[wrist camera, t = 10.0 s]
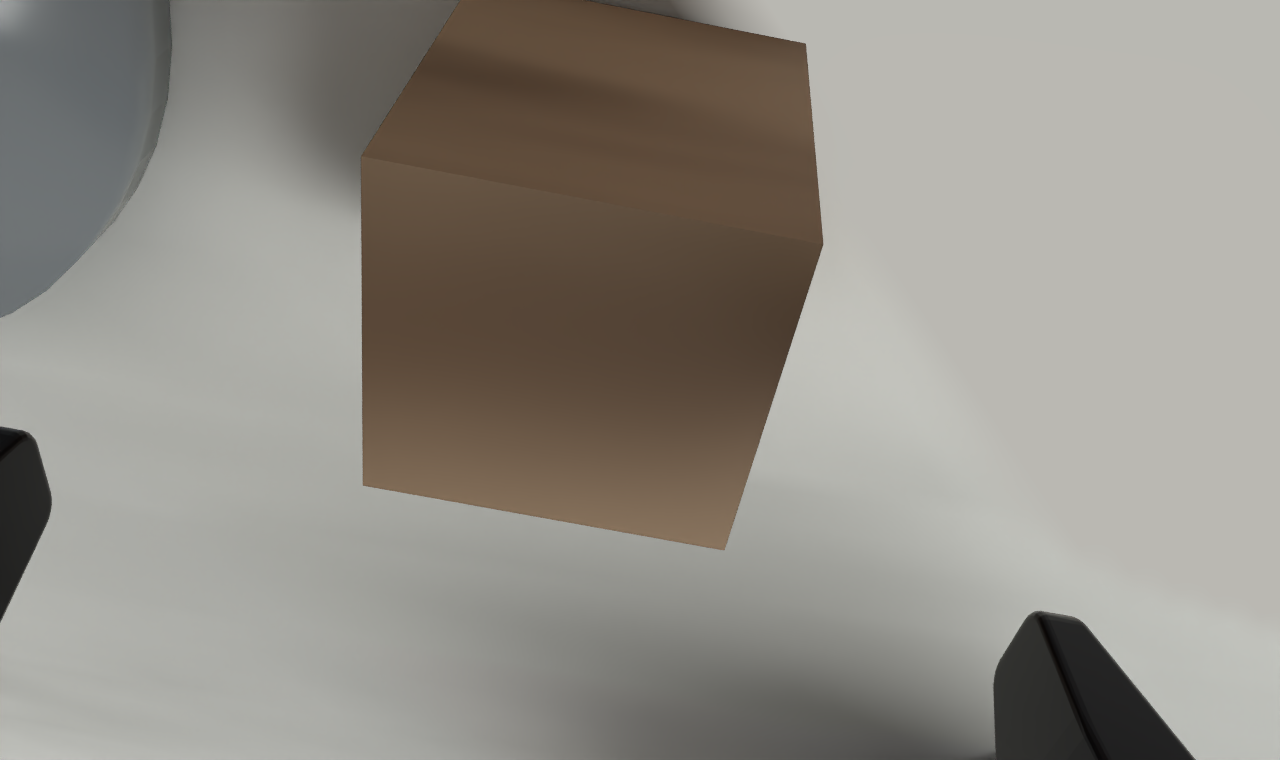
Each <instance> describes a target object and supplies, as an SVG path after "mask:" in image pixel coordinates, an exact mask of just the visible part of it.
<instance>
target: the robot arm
mask: <svg viewBox="0 0 1280 760" xmlns="http://www.w3.org/2000/svg"><path fill="white" fill-rule="evenodd" d="M51 506H52V497H51V491H50V488H49V484H48V481H47V477H46V474H45V470H44V467H43V463H42V459H41V456H40V452H39V449H38V445H37V443H36V440H35V439H34V438H33V437H32V435H31V434H30V433H28V432H26V431H23V430H17V429H12V428H6V427H0V622H1V620H2V618H3V616H4V614H5V612H6V609H7V607H8V605H9V603H10V601H11V599H12V597H13V595H14V592H15V590H16V588H17V586H18V584H19V582H20V580H21V578H22V575H23V573H24V571H25V569H26V567H27V565H28V563H29V561H30V558H31V556H32V554H33V552H34V550H35V548H36V546H37V544H38V541H39V539H40V537H41V535H42V533H43V531H44V529H45V527H46V524H47V522H48V519H49V516H50V512H51ZM994 720H995V749H996V760H1195V758H1194V757H1193V756H1192V755H1191V754H1190V752H1189V751H1188V750H1187V749H1186V747H1185V746H1184V745H1183V744H1182V743H1181V741H1180V740H1179V739H1178V738H1177V736H1176V735H1175V734H1174V733H1173V731H1172V730H1171V729H1170V728H1169V727H1168V725H1167V724H1166V723H1165V722H1164V720H1163V719H1162V718H1161V717H1160V716H1159V714H1158V713H1157V712H1156V711H1155V709H1154V708H1153V707H1152V706H1151V704H1150V703H1149V702H1148V701H1147V700H1146V698H1145V697H1144V696H1143V695H1142V693H1141V692H1140V691H1139V690H1138V689H1137V687H1136V686H1135V685H1134V684H1133V682H1132V681H1131V680H1130V679H1129V677H1128V676H1127V675H1126V674H1125V673H1124V671H1123V670H1122V669H1121V668H1120V666H1119V665H1118V664H1117V663H1116V662H1115V660H1114V659H1113V658H1112V657H1111V655H1110V654H1109V653H1108V652H1107V650H1106V649H1105V648H1104V647H1103V646H1102V644H1101V643H1100V642H1099V641H1098V639H1097V638H1096V637H1095V636H1094V635H1093V633H1092V632H1091V631H1090V630H1089V628H1088V627H1087V626H1086V625H1085V624H1084V623H1083V622H1081V621H1080V620H1079V619H1077V618H1075V617H1071V616H1066V615H1061V614H1055V613H1049V612H1044V611H1035V612H1033V613H1031V614H1030V615H1028V617H1027V618H1026V619H1025V620H1024V622H1023V624H1022V625H1021V627H1020V629H1019V630H1018V632H1017V633H1016V635H1015V637H1014V638H1013V640H1012V641H1011V643H1010V645H1009V646H1008V648H1007V650H1006V651H1005V653H1004V654H1003V656H1002V658H1001V659H1000V661H999V663H998V665H997V668H996V672H995V676H994Z"/></svg>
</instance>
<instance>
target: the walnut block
mask: <svg viewBox="0 0 1280 760" xmlns="http://www.w3.org/2000/svg"><path fill="white" fill-rule="evenodd" d="M361 241H362V424H363V486H369V487H374V488H380V489H385V490H391V491H397V492H402V493H408V494H413V495H419V496H424V497H430V498H436V499H441V500H447V501H452V502H458V503H463V504H469V505H474V506H480V507H486V508H491V509H497V510H502V511H508V512H513V513H519V514H525V515H530V516H536V517H541V518H547V519H552V520H558V521H564V522H569V523H575V524H580V525H586V526H591V527H597V528H603V529H608V530H614V531H619V532H625V533H630V534H636V535H641V536H647V537H653V538H658V539H664V540H669V541H675V542H680V543H686V544H692V545H697V546H703V547H708V548H714V549H719V550H725V547H726V544H727V540H728V537H729V534H730V531H731V528H732V525H733V522H734V519H735V516H736V513H737V510H738V506H739V503H740V500H741V497H742V494H743V491H744V488H745V485H746V482H747V479H748V476H749V472H750V469H751V466H752V463H753V460H754V457H755V454H756V451H757V448H758V445H759V442H760V438H761V435H762V432H763V429H764V426H765V423H766V420H767V417H768V414H769V411H770V407H771V404H772V401H773V398H774V395H775V392H776V389H777V386H778V383H779V380H780V377H781V373H782V370H783V367H784V364H785V361H786V358H787V355H788V352H789V349H790V346H791V343H792V339H793V336H794V333H795V330H796V327H797V324H798V321H799V318H800V315H801V312H802V309H803V305H804V302H805V299H806V296H807V293H808V290H809V287H810V284H811V281H812V278H813V275H814V271H815V268H816V265H817V262H818V259H819V256H820V253H821V250H822V247H823V235H822V224H821V212H820V201H819V189H818V178H817V166H816V155H815V143H814V132H813V121H812V109H811V98H810V86H809V75H808V64H807V53H806V44H805V43H800V42H794V41H789V40H784V39H779V38H774V37H769V36H764V35H759V34H754V33H749V32H744V31H739V30H734V29H728V28H723V27H718V26H713V25H708V24H703V23H698V22H693V21H688V20H683V19H678V18H673V17H667V16H662V15H657V14H652V13H647V12H642V11H637V10H632V9H627V8H622V7H617V6H612V5H607V4H601V3H596V2H591V1H586V0H460V2H459V3H458V5H457V6H456V8H455V9H454V11H453V13H452V14H451V16H450V17H449V19H448V20H447V22H446V24H445V25H444V27H443V28H442V30H441V31H440V33H439V35H438V36H437V38H436V39H435V41H434V42H433V44H432V46H431V47H430V49H429V50H428V52H427V53H426V55H425V57H424V58H423V60H422V61H421V63H420V64H419V66H418V68H417V69H416V71H415V72H414V74H413V75H412V77H411V79H410V80H409V82H408V83H407V85H406V86H405V88H404V90H403V91H402V93H401V94H400V96H399V97H398V99H397V101H396V102H395V104H394V105H393V107H392V108H391V110H390V112H389V113H388V115H387V116H386V118H385V119H384V121H383V123H382V124H381V126H380V127H379V129H378V130H377V132H376V134H375V135H374V137H373V138H372V140H371V141H370V143H369V145H368V146H367V148H366V149H365V151H364V152H363V154H362V156H361Z"/></svg>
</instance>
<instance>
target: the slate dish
mask: <svg viewBox="0 0 1280 760" xmlns="http://www.w3.org/2000/svg"><path fill="white" fill-rule="evenodd" d="M171 51H172V36H171V20H170V4H169V0H0V318H1V317H3V316H6V315H8V314H10V313H13V312H14V311H16V310H17V309H19V308H20V307H22V306H23V305H25V304H27V303H28V302H30V301H31V300H33V299H34V298H36V297H37V296H39V295H40V294H42V293H43V292H45V291H46V290H48V289H49V288H50V287H51V286H52V285H53V284H54V283H55V282H56V281H57V280H58V279H59V278H60V277H61V276H62V275H63V274H64V273H65V272H66V271H67V270H68V269H69V268H70V267H71V266H72V265H73V264H74V263H75V262H76V261H77V260H78V259H79V258H80V257H81V256H82V255H83V254H84V253H85V252H86V251H87V250H88V249H89V247H90V246H91V245H92V244H93V243H94V242H95V241H96V240H97V239H98V238H99V237H100V236H101V235H102V234H103V233H104V232H105V230H106V229H107V228H108V227H109V226H110V225H111V224H112V223H113V222H114V221H115V219H116V218H117V217H118V215H119V214H120V212H121V211H122V209H123V208H124V206H125V205H126V204H127V202H128V201H129V199H130V198H131V196H132V195H133V193H134V192H135V191H136V189H137V188H138V186H139V184H140V181H141V179H142V177H143V175H144V172H145V170H146V168H147V166H148V163H149V161H150V159H151V157H152V154H153V152H154V150H155V147H156V145H157V141H158V136H159V132H160V128H161V124H162V120H163V116H164V112H165V108H166V104H167V100H168V89H169V76H170V64H171Z"/></svg>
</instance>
